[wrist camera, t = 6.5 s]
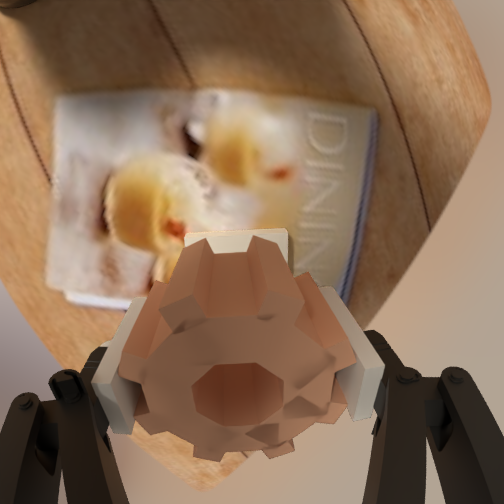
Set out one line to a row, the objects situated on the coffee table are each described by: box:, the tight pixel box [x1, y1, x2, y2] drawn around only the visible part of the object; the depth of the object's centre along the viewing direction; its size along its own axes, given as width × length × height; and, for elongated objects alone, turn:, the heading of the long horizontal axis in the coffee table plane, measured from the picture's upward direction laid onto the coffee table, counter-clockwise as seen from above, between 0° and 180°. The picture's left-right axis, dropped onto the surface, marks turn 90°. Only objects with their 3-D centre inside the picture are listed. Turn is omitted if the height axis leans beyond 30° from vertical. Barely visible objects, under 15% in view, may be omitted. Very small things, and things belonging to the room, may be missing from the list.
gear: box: [118, 235, 356, 462], centre depth 13 cm, size 8×8×6 cm
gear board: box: [184, 228, 288, 265], centre depth 30 cm, size 9×20×6 cm, turn 2°
